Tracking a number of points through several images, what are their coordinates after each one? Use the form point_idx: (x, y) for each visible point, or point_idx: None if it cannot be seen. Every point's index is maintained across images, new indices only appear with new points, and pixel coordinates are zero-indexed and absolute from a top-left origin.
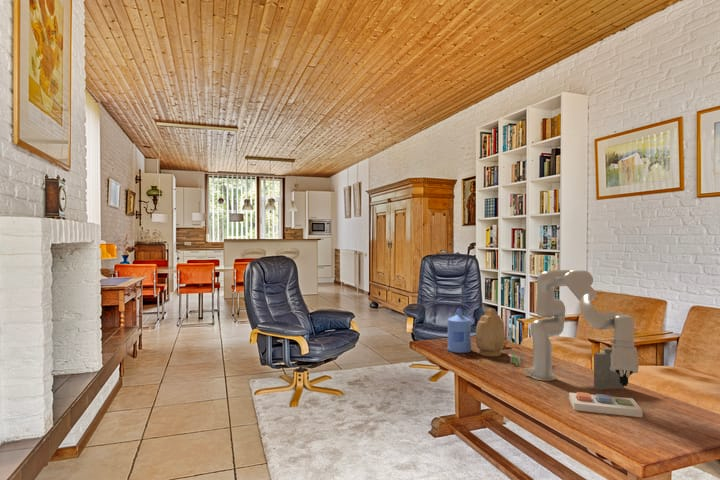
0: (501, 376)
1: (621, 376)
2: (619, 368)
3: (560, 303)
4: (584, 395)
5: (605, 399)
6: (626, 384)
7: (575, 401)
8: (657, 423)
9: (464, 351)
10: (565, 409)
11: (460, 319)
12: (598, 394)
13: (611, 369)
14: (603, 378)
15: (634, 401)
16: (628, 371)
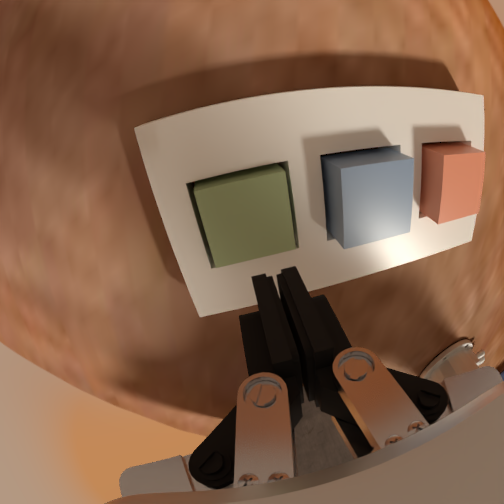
0: None
1: (350, 350)
2: (486, 429)
3: None
4: (465, 169)
5: (374, 161)
6: (258, 286)
7: (478, 123)
8: (77, 78)
9: (501, 376)
10: (479, 91)
11: None
12: (401, 225)
13: (492, 379)
14: (315, 421)
15: (187, 276)
16: (264, 467)
